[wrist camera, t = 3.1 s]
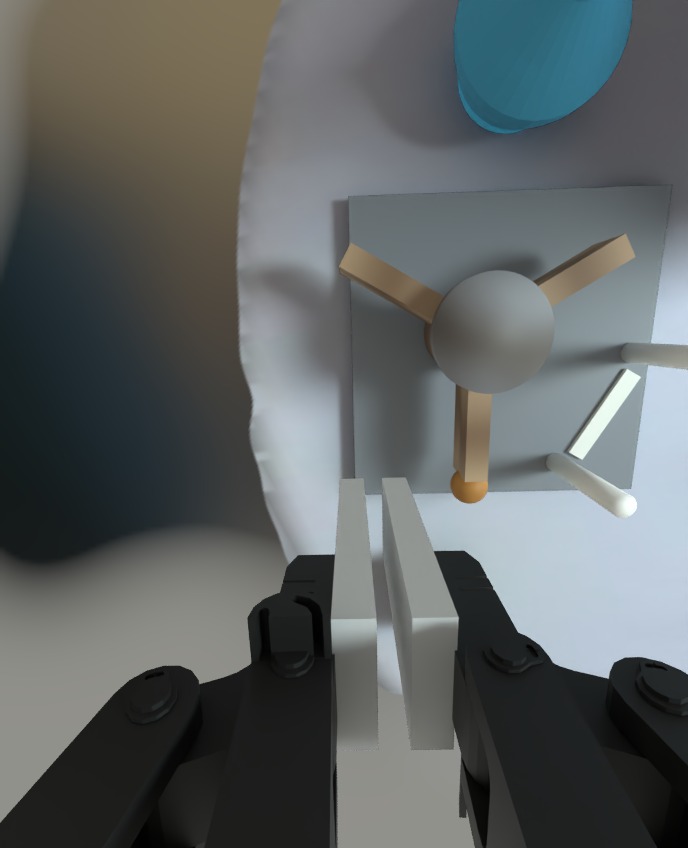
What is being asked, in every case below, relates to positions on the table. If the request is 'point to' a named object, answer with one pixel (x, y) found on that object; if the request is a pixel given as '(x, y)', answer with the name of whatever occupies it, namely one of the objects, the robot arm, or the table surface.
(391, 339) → the stand
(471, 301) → the capstan
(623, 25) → the perfume bottle
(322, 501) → the table surface
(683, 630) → the table surface
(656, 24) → the table surface
